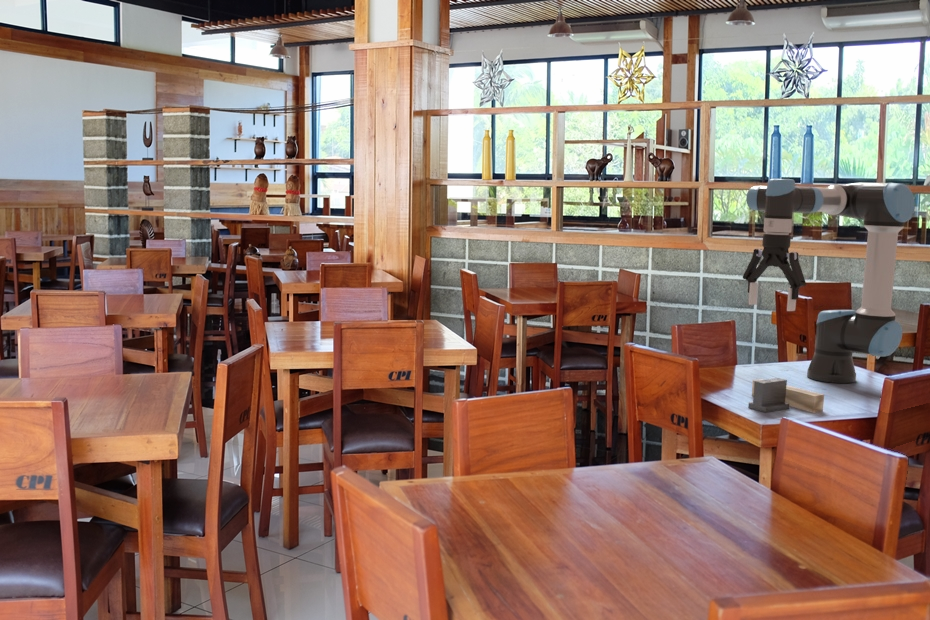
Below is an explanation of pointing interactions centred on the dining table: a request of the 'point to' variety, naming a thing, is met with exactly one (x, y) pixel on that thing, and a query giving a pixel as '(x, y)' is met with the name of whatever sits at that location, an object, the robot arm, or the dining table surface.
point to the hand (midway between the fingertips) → (771, 307)
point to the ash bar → (802, 399)
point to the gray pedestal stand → (769, 395)
